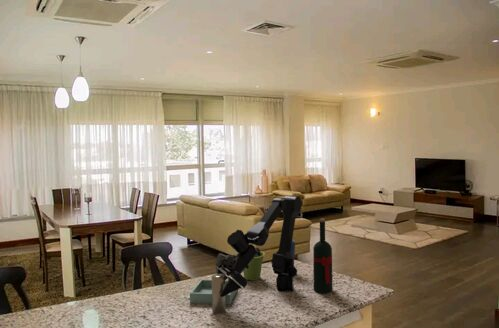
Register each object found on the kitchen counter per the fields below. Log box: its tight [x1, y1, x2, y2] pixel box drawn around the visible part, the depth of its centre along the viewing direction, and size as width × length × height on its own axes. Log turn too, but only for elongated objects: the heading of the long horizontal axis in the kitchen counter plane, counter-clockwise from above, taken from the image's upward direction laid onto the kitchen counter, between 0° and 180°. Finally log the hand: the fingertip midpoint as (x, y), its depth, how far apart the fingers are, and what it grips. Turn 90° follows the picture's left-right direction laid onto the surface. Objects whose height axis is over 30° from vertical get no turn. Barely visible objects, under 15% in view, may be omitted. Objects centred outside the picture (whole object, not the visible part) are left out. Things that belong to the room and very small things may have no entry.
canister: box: [211, 273, 227, 314], centre depth 149 cm, size 5×5×13 cm
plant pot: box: [242, 250, 266, 281], centre depth 185 cm, size 12×12×11 cm
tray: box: [189, 279, 238, 305], centre depth 164 cm, size 16×16×4 cm
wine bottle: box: [312, 218, 333, 295], centre depth 166 cm, size 8×10×30 cm
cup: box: [290, 239, 296, 267], centre depth 192 cm, size 7×7×15 cm
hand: (216, 292), depth 149 cm, fingers open, 9 cm apart
